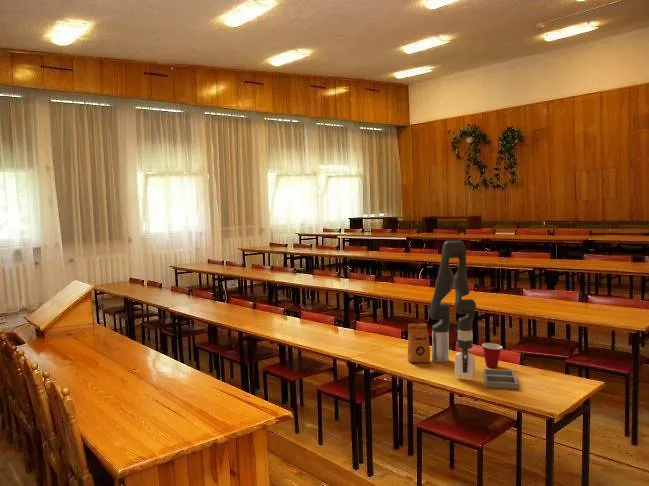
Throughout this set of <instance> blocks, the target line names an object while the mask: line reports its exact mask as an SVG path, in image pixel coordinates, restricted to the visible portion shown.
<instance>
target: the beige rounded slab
mask: <svg viewBox="0 0 649 486" xmlns="http://www.w3.org/2000/svg"><path fill="white" fill-rule="evenodd" d="M464 363H467V362H466V361H464ZM462 364H463V361H462V355H461V351H459V352H456V353H455V355H454V375H455V376H457V377H464V378H468V379H469V378H471V379H475V378H476V356H475V355H474V354H473V353H470V352H469V360H468V366H467V373H463V365H462Z"/></svg>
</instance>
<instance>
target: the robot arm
mask: <svg viewBox="0 0 649 486" xmlns="http://www.w3.org/2000/svg"><path fill="white" fill-rule="evenodd" d="M441 250H442V251H441V257H440V265H439V270H438V273H437V277H436V282H435V288H434V292H433V295H432V299H431V301H430V305H429V308H428V309H429V310H428V315H429V318H430V319H432V320H437V321H438V320H439V321H438V322H437V323H435V324H433V325H432V327H431V329H432V331H431V332H432V333H431V336H432V337H431V338H432V339H431V340H432V342H431V354H432V355H431V361H432V362H436V363H447V362H449V360H450V359H449V357H450V353H449V351H450V349H449V348H450V347H449V343H450V342H449V341H450V340H449V337H450V336H449V335H450V334H449V333H450V332H449V329H450V318H451V317H450V316H451V309H450V305H449V303H448V302H442V300H444V299H445V297H447V296H448V294H450V292H452V290H453V288H454V290H455V291H454V292H455V295H454V296H455V300H454V311H455V312H456V313H457V314H459V315H460V314H463V315H464V314H466V315H465V316H463V317H459V318H458V320H457V340H456V341H457V344H456V345H457V348H458V349H461V350H460V352H461V355H462V361H463V364H462V365H463V373H467V366H468V360H469V353H470V349H472V348H473V347H474V346H473V344H474V343H473V342H474V341H473V340H474V339H473V338H474V337H473V321H474V317H475V313H476V310H477V303H476V301H475V300H474V299H471V298H470V299H469V298H467V299H463V297H466V296H468V295H469V294H470V286H469V282H468V275H467V252H466V245H465V242H464V241H462V240H446V241H444V243H443V245H442V249H441ZM450 259H458V267H457V269H456V272H455V273H454V272H453V270H452V268H451V266H450ZM453 286H454V287H453ZM464 361H466V362H467V363H464Z"/></svg>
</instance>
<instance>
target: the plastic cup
mask: <svg viewBox="0 0 649 486" xmlns="http://www.w3.org/2000/svg"><path fill="white" fill-rule="evenodd" d="M481 345H482V350H483V356H484V361H485V366H486V368H488V369H496V368H498V365H499V361H500V356H501V355H500V354H501V351H502V349H503V346H502V345H500V344H497V343H493V342H492V343H491V342H483V343H482V344H481Z"/></svg>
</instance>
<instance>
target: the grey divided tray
mask: <svg viewBox="0 0 649 486" xmlns="http://www.w3.org/2000/svg"><path fill="white" fill-rule="evenodd" d="M482 370H483V371H482V372H483V380H484V386H485V389H496V390H497V389H499V390H511V391H512V390H513V391H514V390H517V391H518V390H519V382H518V380H517V377H516V374H515V370H512V369H511V370H510V369H496V368H483V369H482Z"/></svg>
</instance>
